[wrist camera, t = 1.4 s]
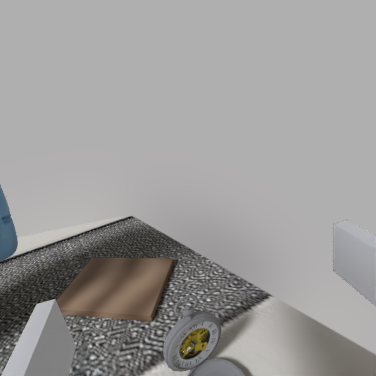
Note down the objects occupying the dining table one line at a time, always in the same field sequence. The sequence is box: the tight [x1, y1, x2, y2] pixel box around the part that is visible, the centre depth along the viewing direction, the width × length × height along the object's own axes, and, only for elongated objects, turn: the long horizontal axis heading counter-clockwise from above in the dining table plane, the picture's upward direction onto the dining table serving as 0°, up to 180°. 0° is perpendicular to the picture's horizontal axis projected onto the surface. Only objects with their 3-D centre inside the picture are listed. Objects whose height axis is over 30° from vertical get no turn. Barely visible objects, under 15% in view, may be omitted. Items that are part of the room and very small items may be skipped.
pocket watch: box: [163, 295, 245, 376], centre depth 25 cm, size 8×8×10 cm
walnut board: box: [56, 257, 174, 321], centre depth 43 cm, size 16×12×1 cm
